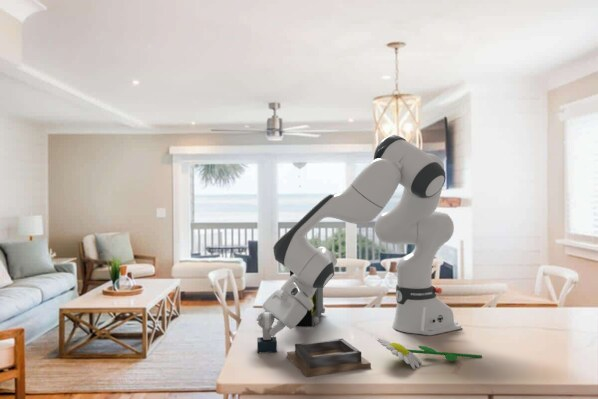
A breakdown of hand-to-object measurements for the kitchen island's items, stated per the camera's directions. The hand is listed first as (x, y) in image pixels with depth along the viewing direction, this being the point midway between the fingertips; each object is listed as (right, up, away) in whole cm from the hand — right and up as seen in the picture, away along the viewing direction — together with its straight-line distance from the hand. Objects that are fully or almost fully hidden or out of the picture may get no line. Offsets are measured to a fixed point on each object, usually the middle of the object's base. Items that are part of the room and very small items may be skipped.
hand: (264, 330), depth 142 cm
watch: (+1, -6, 0) cm, 6 cm away
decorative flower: (+46, -6, -10) cm, 47 cm away
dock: (+18, -6, -10) cm, 21 cm away
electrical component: (+13, -5, +32) cm, 35 cm away
